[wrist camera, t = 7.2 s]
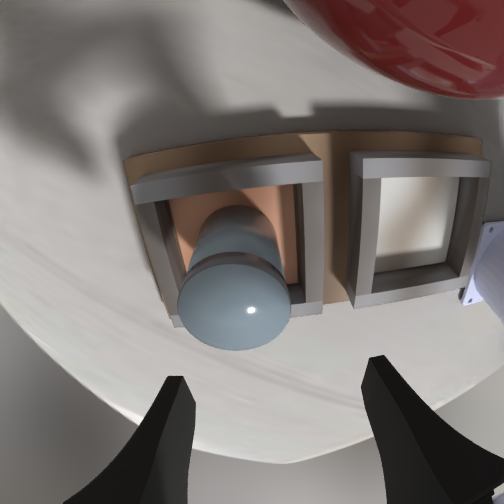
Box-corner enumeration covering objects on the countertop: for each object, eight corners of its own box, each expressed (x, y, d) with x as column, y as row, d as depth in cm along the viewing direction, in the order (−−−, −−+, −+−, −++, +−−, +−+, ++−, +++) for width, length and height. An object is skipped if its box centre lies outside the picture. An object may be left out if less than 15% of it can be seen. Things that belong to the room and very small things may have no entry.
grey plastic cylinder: (274, 199, 15) (289, 257, 10) (280, 271, 18) (293, 346, 12) (190, 209, 16) (163, 271, 10) (206, 279, 18) (192, 354, 13)
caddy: (473, 137, 14) (502, 147, 12) (451, 273, 20) (470, 295, 17) (129, 157, 15) (107, 170, 12) (172, 309, 20) (164, 339, 18)
